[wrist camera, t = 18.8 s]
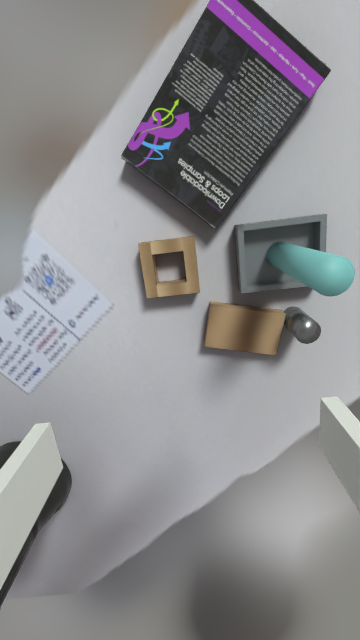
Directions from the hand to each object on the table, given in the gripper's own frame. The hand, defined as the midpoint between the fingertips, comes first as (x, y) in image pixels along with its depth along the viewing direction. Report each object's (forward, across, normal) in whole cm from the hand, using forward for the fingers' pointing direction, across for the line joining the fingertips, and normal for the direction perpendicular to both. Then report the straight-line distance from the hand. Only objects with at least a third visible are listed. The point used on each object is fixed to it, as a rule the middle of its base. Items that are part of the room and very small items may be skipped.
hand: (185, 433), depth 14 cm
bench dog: (+28, +14, -4) cm, 32 cm away
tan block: (+29, +8, -5) cm, 30 cm away
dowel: (+27, +13, +5) cm, 30 cm away
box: (+29, +6, +21) cm, 36 cm away
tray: (+28, +12, +5) cm, 31 cm away
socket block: (+28, -2, +5) cm, 29 cm away
